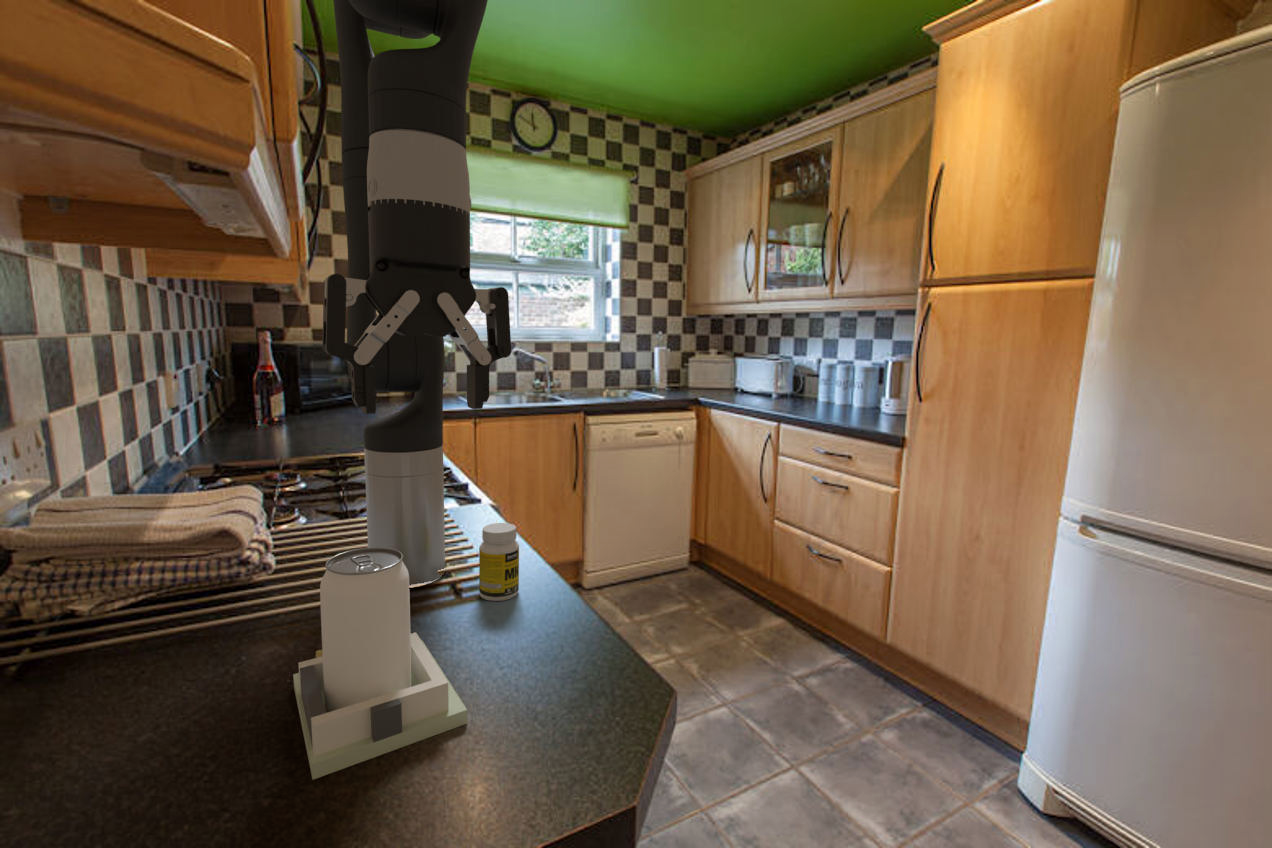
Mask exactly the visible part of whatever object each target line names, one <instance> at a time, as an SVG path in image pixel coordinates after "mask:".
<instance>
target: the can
mask: <svg viewBox="0 0 1272 848" xmlns="http://www.w3.org/2000/svg"><path fill="white" fill-rule="evenodd" d="M402 559H403V554H402V553H401V552H400V551H398V550H395V549H391V548H383V547H371V548H368V547H361V548H357V549H352V550H347V551H343V552H341V553H338V554H336V555H334V556H332V557H330V558H329V559H327V561H326V562H325V566H324V567H325V569H326V570H325V572H324V574H323V576H322V578H321V581H320V587H319V590H320V593H319V598H320V599H319V600H320V601H319V602H320V604H319V605H320V622H321V623H320V624H321V625H320V628H321V647H322V649H321V650H322V654H323V676H324V696H325V707H326V709H327V711H328V712H331V711H335V710H338V709H341V708H344V707H347V706H351V705H354V704H357V703H360V702H364V701H367V700H370V699H373V698H377V697H380V696H383V695H386V694H389V693H393V692H396V691H399V690H402V689H406V688H409V687H411V638H410V634H411V603H410V596H411V595H410V589H409V573H408V570H407V568H406V566H405V565H404V563H403V561H402Z"/></svg>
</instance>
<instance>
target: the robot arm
mask: <svg viewBox="0 0 1272 848" xmlns="http://www.w3.org/2000/svg"><path fill="white" fill-rule="evenodd" d="M332 1H333V10H334V20H335V30H336V40H337V42H336V43H337V50H338V61H339V62H338V63H339V75H340V76H339V77H340V101H341V103H340V104H341V105H340V107H341V109H340V111H341V115H340V117H341V120H340V121H341V123H340V124H341V131H340V132H341V134H340V135H341V146H340V147H341V174H342V175H341V177H342V189H343V191H342V192H343V205H344V216H345V230H346V243H347V244H346V245H347V277H344V276H343V275H341V274H340V273H333V274H329V275H328V276H326V278H325V279H324V281H323V299H322V300H323V303H322V304H323V307H322V309H323V312H322V346H321V347H322V351H323V352H324V353H325V354H327V355H329V356H332V357H335V358H339V359H342V360H345V361H346V362H347V370H348V375H349V379H350V382H351V399H352V401H353V404H354V405H355V406H356V407H358V408H359V407H361V412H362V413H363V414H365V415H372V414H373V415H375V414H376V412H377V409H376V408H377V407H376V405H377V402H376V393H403V392H406V393H409V392H410V393H411V392H412V393H413V392H414V396H413V398H412V400H411V401H410V402H409V403H408V404H407V405H406V406H404V407H403V408H401V409H400V410H397V411H396V412H394V413H392V414H389V415H386V416H384V417H381V418H379V419H376V420H373V421H371V422H369V423H368V424H366V426H365V427H364V429H363V447H364V448H363V449H364V450H363V452H364V453H363V455H364V471H365V472H364V473H365V475H364V476H365V499H366V502H365V503H366V505H365V507H366V528H367V529H366V531H367V548H371V547H383V548H391V549H395V550H398V551H400V552H401V553H402V554H403V559H402V561H403V563H404V565H405V566H406V568H407V570H408V573H409V585H411V584H417V583H424V582H428V581H433V580H435V579H437V578H439V577H440V574H439V573H437V571H438V570H441V569H444V568H445V569H446V548H445V547H446V535H445V533H446V532H445V528H446V527H445V483H444V482H445V480H444V478H445V477H444V473H445V471H444V445H443V444H444V431H443V430H444V428H443V427H444V404H443V402H444V377H445V376H444V375H445V373H444V372H445V340H444V339H445V338H446V336H449V338H450V339H451V340H452V342H453V343H455V344H456V345H457V346H458V347H459V348H460V350H461V352H462V353H463V354H464V355H465V357H466V358H467V359H468V360H469V364H466V404H467V407H468V408H470V409H472V410H482V409H483V407H484V403H487V402H488V401H489V397H490V367H491V365H492V363H493V362H495V361H498V360H501V359H505V358H509V356H511V353H512V341H511V339H512V338H511V322H510V321H511V320H510V317H511V316H510V303H509V300H510V299H509V292H508V290H507V289H506V288H505V287H502V286H500V287H492V288H475V287H474V285H473V282H472V281H471V209H472V197H471V193H470V192H471V191H470V190H471V189H470V188H471V186H470V185H471V184H470V183H471V182H470V173H469V167H468V159H467V95H468V94H467V92H468V83H469V75H470V70H471V64H472V60H473V54H474V51H475V47H476V43H477V40H478V36H479V35H480V34H479V33H480V30H481V27H482V23H483V21H484V17H485V13H486V10H487V6H488V1H489V0H332ZM367 30H371V31H374V32H378V33H384V34H387V35H392V36H396V37H400V38H405V39H411V40H422V39H426V38H427V37H429V36H430V35H433V36H435V37H438V38H439V41H437V42H436V43H435V44H433V45H431V46H428V47H421V48H419V47H418V48H398V49H397V48H395V49H389V50H385V51H380V52H378V53H377V54H374V51H373V49H372V45H371V43H370V39H369V35H368V32H367ZM475 302H476V303H477V304H478V306H479V310H480V311H481V313H483V314H485V320H486V321H485V323H486V324H485V325H486V335H487V345H484V344H483V342H482V341H481V340H480V337H479V335H478V332H477V331H476V329H475V328H474V327H473V325H472V324H471V323H470V321H469V320H468V319H467V317H466V315H467V313H468V312H469V310H471V308H472V307H473V305H474V304H475ZM346 311H347V313H346ZM346 317H347V318H346ZM346 321H347V322H346ZM444 337H445V338H444ZM444 560H445V561H444Z"/></svg>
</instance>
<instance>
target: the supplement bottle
mask: <svg viewBox="0 0 1272 848" xmlns="http://www.w3.org/2000/svg"><path fill="white" fill-rule="evenodd" d="M481 534H482V536H481V537H482V542H481V543H480V545H479V547H478V548H479V551H478V552H479V553H478V554H479V558H478V560H479V561H478V562H479V563H478V565H479V566H478V568H479V571H478V573H479V574H478V575H479V576H478V581H479V583H478V584H479V585H478V586H479V587H478V592H479V596H480V597H481V598H482V599H484V600H486V601H492V602H501V601H507V600H510V599H513V598H514V597H516V596H517V595H518V594H519V591H520V589H519V586H520V583H519V582H520V574H519V573H520V544H519V542H518V540H517V526H516V525H515V524H512V523H508V522H495V523H494V522H493V523H489V524H487V525H485V526H483V527H482V532H481Z"/></svg>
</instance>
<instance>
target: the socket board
mask: <svg viewBox="0 0 1272 848" xmlns="http://www.w3.org/2000/svg"><path fill="white" fill-rule="evenodd" d="M410 638H411V687H409V688H406V689H402V690H399V691H396V692H393V693H389V694H386V695H383V696H380V697H377V698H373V699H370V700H367V701H364V702H360V703H357V704H354V705H351V706H347V707H344V708H341V709H338V710H335V711H331V712H328V711H327V709H326V707H325V696H324V676H323V654H322V649H319V650H316V651H315V657H314V658H311V659H307V660H303V661H300V662H298V672H297V673H293V676H292V677H293V690H294V694H295V699H296V704H297V708H298V714H299V715H298V716H299V719H300V720H299V721H300V724H301V730H302V735H303V738H304V743H305V749H306V754H307V758H308V764H309V768H310V774H311V779H312V781H313V780H316V779H319V778H321V777H324V776H326V775H327V776H328V775H329V774H332V773H335V772H338V771H341V770H344V769H347V768H349V767H352V766H354V765H358V764H360V763H363V762H365V761H368V760H371V759H374V758H376V757H379V756H382V755H384V754H388V753H390V752H394V751H396V750H398V749H401V748H404V747H406V746H410V745H412V744H414V743H417V742H420V741H424V740H425V739H429V738H431V737H434V736H436V735H437V736H438V735H440V734H442V733H445V732H448V731H450V730H453V729H456V728H458V727H461V726H465V725H467V724H468V709H467V707H466V706H465V704H464V703H463V701H462V699H461V698H460V696H459V695H458V693H457V692H456V691H455V690H456V689H455V688H454V687H453V686H452V683H450V681H449V679H448V677H447V676H446V675H445V673H444V672H443V670H442V669H441V667H440V666H439V664H438V662H437V660H436V659H435V658H434V656H433V655H432V652H431V651H430V650H429V649H428V647H427V645H426V644H425V642H424V641H423V639H421V637H420V636H419V634H417V632H416V631H415V632H413V633H411V632H410Z"/></svg>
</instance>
